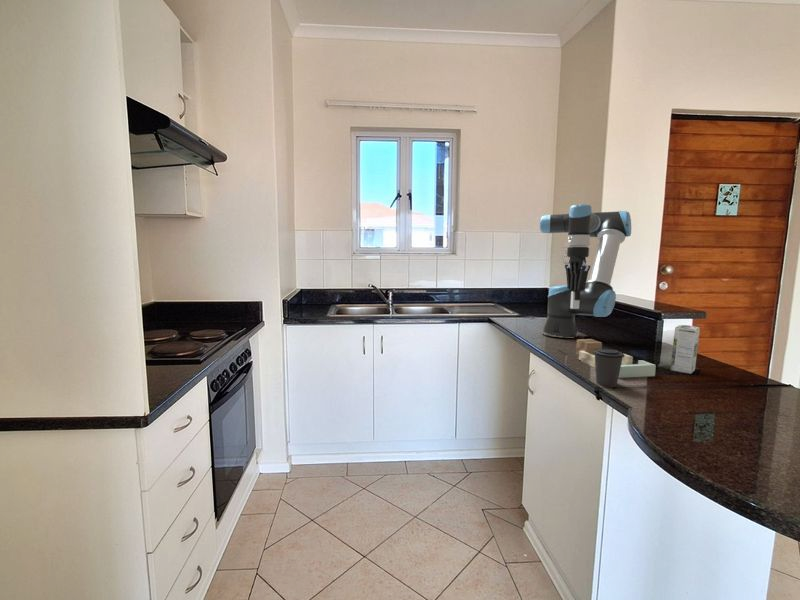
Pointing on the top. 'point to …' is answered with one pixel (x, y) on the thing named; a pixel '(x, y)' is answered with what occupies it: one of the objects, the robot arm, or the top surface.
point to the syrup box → (685, 348)
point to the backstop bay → (637, 370)
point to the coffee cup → (607, 366)
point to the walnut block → (588, 345)
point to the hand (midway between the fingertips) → (574, 308)
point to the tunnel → (590, 359)
